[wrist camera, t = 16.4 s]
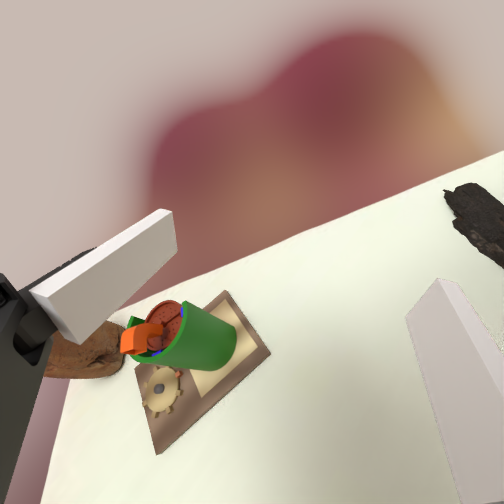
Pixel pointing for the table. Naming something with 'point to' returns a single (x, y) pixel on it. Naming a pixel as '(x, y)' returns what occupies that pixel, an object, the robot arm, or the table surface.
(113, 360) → the block
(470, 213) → the wood
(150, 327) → the motor
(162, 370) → the mounting board
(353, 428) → the table surface
